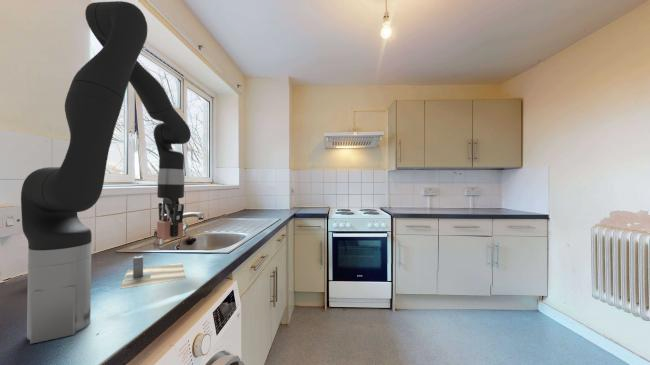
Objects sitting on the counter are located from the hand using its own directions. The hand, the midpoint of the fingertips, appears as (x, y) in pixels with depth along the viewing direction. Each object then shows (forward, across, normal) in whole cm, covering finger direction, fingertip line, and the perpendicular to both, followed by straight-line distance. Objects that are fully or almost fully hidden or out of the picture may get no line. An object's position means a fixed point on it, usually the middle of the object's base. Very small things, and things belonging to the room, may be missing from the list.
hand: (169, 235), depth 86 cm
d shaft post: (+13, +3, +8) cm, 16 cm away
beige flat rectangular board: (+13, +2, +3) cm, 14 cm away
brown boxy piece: (+1, 0, 0) cm, 1 cm away
